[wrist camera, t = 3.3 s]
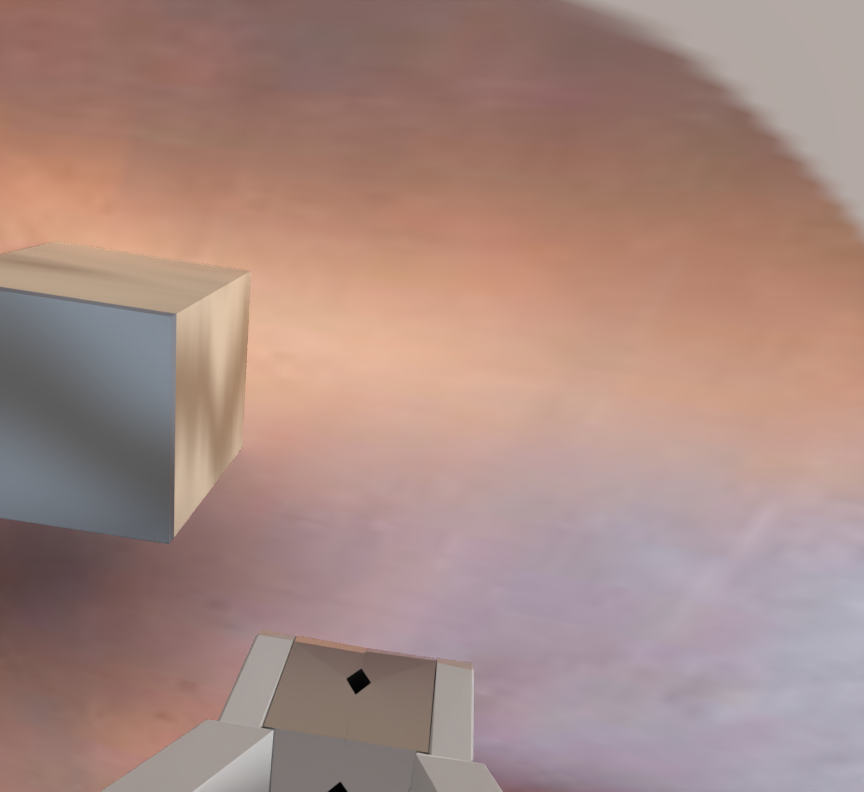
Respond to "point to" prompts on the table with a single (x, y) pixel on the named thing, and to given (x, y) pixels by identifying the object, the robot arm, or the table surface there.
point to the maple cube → (117, 387)
